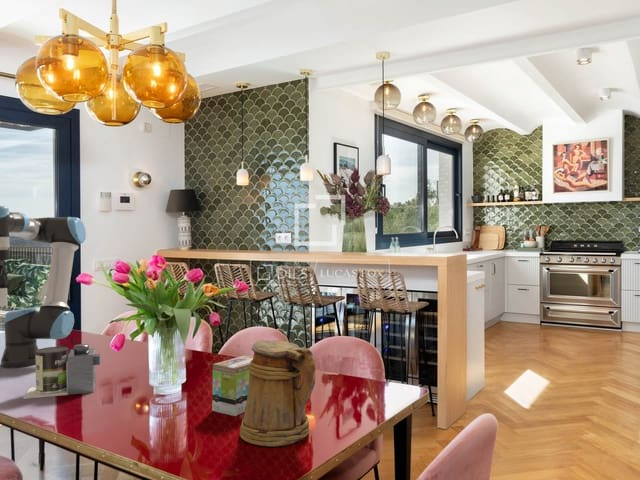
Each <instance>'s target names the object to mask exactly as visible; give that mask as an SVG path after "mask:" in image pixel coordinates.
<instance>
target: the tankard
mask: <svg viewBox="0 0 640 480" xmlns="http://www.w3.org/2000/svg"><path fill="white" fill-rule="evenodd" d="M251 351H253V356H252V357H253V360H251V362H250V368H249V372H250V373H251V374H250V381H249V389H248V396H247V403H246V409H245V412H244V417H243V419H242V421H241V425H240V427H239V428H240V430H239V437H240V438H241V440H243V441H245V442H247V443H249V444H252V445H256V446H261V447H270V448H271V447H275V448H276V447H285V446H290V445H294V444H296V443H298V442H300V441H303V440H304V439H305V438H306V437H307V436H308V434H309V432H310V420H309V417H308V416H307V415H306V407H305V405H306V404H307V402H308V400H309V399H310V397H311V396H312V392H313V390H314V388H315V383H316V379H317V378H316V365H315V360H314V358H313V353H312V352H313V351H312V350H311V349H310V348H303V347H300V346H299V345H298V344H296V343H294V342H289V341H285V340H276V339H275V340H273V339H272V340H270V339H266V340H261V339H258V340H256V341H255V342H254V343H253V345H252V346H251Z"/></svg>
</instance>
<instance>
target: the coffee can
mask: <svg viewBox="0 0 640 480" xmlns="http://www.w3.org/2000/svg"><path fill="white" fill-rule="evenodd" d="M68 350H69V348H68V347H67V346H49V347H48V346H47V347H43V348H38V350H36V351H35V354H36V364H35V387H36V392H37V393H40V394H51V393H57V392H61V391H64V390H66V389H67V366H66V362H67V356H68V355H69V351H68Z"/></svg>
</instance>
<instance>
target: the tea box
mask: <svg viewBox="0 0 640 480" xmlns="http://www.w3.org/2000/svg"><path fill="white" fill-rule="evenodd" d="M253 357H254V356H252V355H251V356H249V355H240V356H237V357H233V358H229V359H227V360H223V361H220V362H215V363H213V364H212V392H211V393H212V404H211V406H212V407H211V408H212V411H213V412H216V413H219V414H223V415H224V414H225V415H228V416H231V417H237V416H238V415H240V414H243V413H245V409H246V403H247V396H248V389H249V381H250V374H251V373H250V372H249V368H250V362H251V360H253Z"/></svg>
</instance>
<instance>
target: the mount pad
mask: <svg viewBox="0 0 640 480" xmlns="http://www.w3.org/2000/svg"><path fill="white" fill-rule="evenodd" d="M57 396H68V391H67V389H66V390H64V391H61V392H57V393H51V394H40V393H37V392H36V386H33V387H29V388H28V389H27V392H25V394H24V396H23V400H28V399H36V398H47V397H57Z"/></svg>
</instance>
